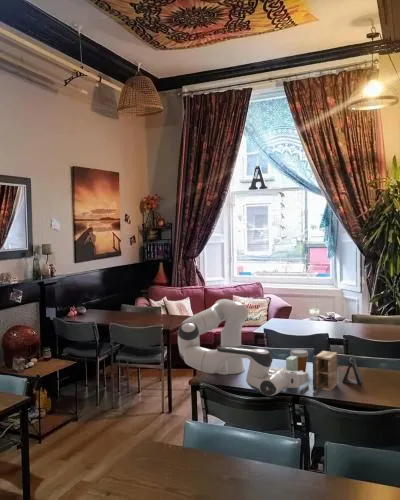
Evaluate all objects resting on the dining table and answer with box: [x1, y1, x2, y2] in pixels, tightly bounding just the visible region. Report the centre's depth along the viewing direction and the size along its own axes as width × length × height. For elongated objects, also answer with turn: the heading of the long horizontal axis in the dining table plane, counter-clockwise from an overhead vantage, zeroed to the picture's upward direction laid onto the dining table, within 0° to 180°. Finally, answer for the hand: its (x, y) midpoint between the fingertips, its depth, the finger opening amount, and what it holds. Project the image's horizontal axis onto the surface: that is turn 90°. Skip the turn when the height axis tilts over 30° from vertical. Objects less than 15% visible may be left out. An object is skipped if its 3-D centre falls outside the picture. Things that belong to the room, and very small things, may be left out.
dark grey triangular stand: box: [342, 356, 363, 386], centre depth 229 cm, size 9×6×12 cm, turn 66°
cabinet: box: [300, 350, 338, 397], centre depth 220 cm, size 11×21×16 cm, turn 147°
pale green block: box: [285, 355, 298, 371], centre depth 225 cm, size 4×7×14 cm, turn 147°
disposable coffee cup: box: [289, 348, 309, 372], centre depth 244 cm, size 10×10×12 cm
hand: (292, 370), depth 226 cm, fingers open, 8 cm apart
